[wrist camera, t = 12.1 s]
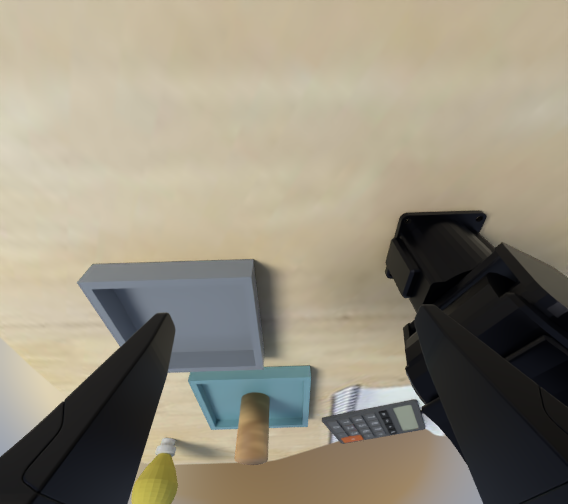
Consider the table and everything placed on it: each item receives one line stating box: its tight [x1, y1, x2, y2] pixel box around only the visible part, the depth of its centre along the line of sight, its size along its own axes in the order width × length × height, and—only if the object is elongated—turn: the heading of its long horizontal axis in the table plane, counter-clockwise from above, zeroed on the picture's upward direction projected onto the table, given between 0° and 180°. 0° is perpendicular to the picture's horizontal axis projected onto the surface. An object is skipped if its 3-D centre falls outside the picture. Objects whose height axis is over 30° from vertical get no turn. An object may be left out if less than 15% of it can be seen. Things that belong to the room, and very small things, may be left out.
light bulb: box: [132, 438, 178, 504], centre depth 44 cm, size 7×7×10 cm
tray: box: [188, 366, 311, 430], centre depth 38 cm, size 15×15×2 cm
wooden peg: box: [235, 392, 270, 465], centre depth 35 cm, size 4×4×7 cm
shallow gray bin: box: [77, 259, 264, 373], centre depth 27 cm, size 14×14×2 cm
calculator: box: [322, 400, 425, 444], centre depth 45 cm, size 12×1×15 cm
